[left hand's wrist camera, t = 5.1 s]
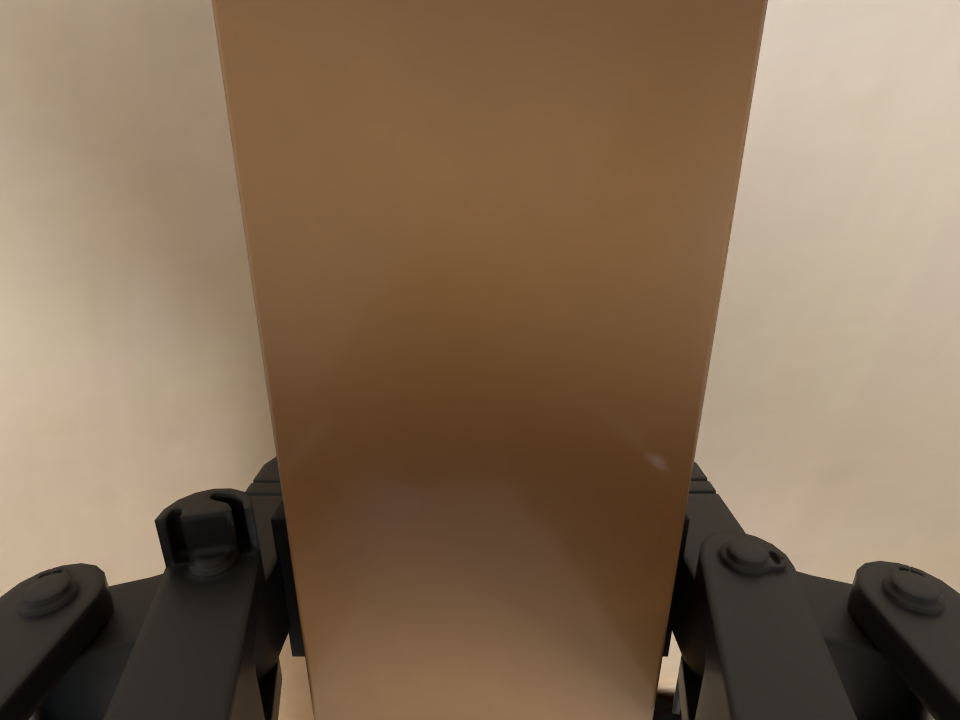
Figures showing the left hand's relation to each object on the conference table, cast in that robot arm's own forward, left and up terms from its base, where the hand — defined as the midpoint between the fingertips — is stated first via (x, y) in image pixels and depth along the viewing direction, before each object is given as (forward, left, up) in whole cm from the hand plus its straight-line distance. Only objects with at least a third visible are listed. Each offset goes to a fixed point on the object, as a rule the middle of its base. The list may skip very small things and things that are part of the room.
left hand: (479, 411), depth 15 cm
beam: (+17, +19, -1) cm, 25 cm away
